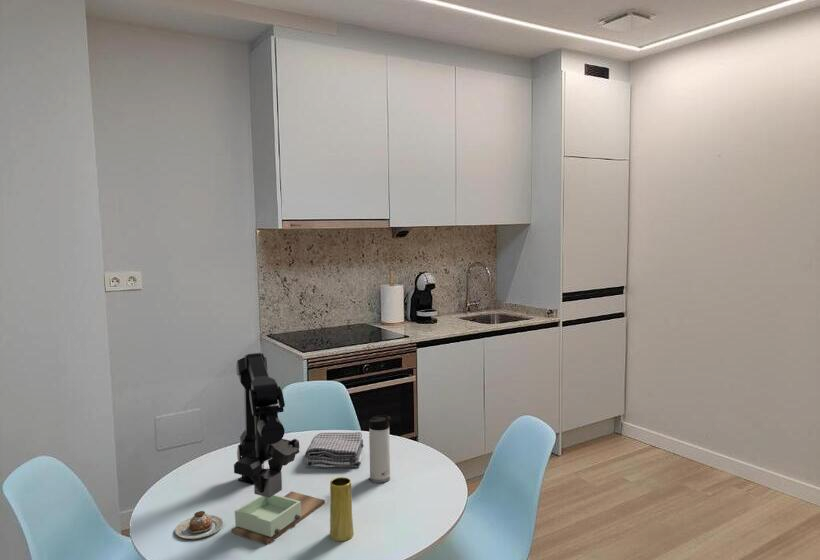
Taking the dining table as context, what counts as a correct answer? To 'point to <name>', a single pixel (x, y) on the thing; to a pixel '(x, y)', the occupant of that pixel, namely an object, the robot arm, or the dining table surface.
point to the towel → (335, 450)
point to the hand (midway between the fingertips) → (268, 488)
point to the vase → (341, 509)
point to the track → (307, 508)
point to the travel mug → (379, 449)
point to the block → (270, 483)
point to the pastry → (199, 525)
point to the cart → (268, 514)
